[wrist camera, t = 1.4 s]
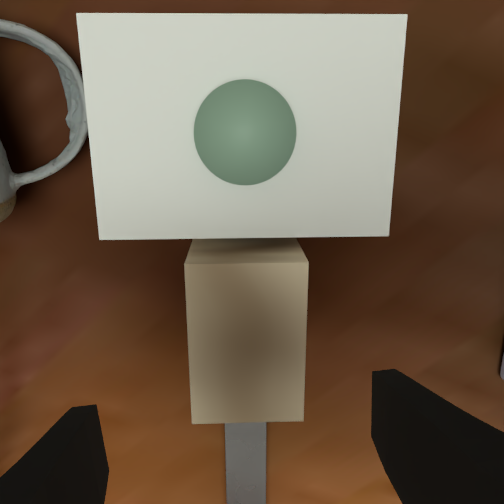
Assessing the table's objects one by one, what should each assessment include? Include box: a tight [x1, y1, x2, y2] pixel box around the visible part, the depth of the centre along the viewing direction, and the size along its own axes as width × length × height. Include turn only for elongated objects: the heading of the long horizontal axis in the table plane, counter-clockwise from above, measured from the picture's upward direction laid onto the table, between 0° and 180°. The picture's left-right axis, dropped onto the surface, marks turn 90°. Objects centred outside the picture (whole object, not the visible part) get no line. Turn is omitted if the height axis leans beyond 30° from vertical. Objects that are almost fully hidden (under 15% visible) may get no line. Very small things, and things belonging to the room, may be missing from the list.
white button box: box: [76, 13, 407, 240], centre depth 17 cm, size 10×7×6 cm
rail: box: [225, 422, 266, 504], centre depth 22 cm, size 2×18×2 cm, turn 0°
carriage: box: [184, 237, 309, 424], centre depth 18 cm, size 4×6×6 cm, turn 0°
